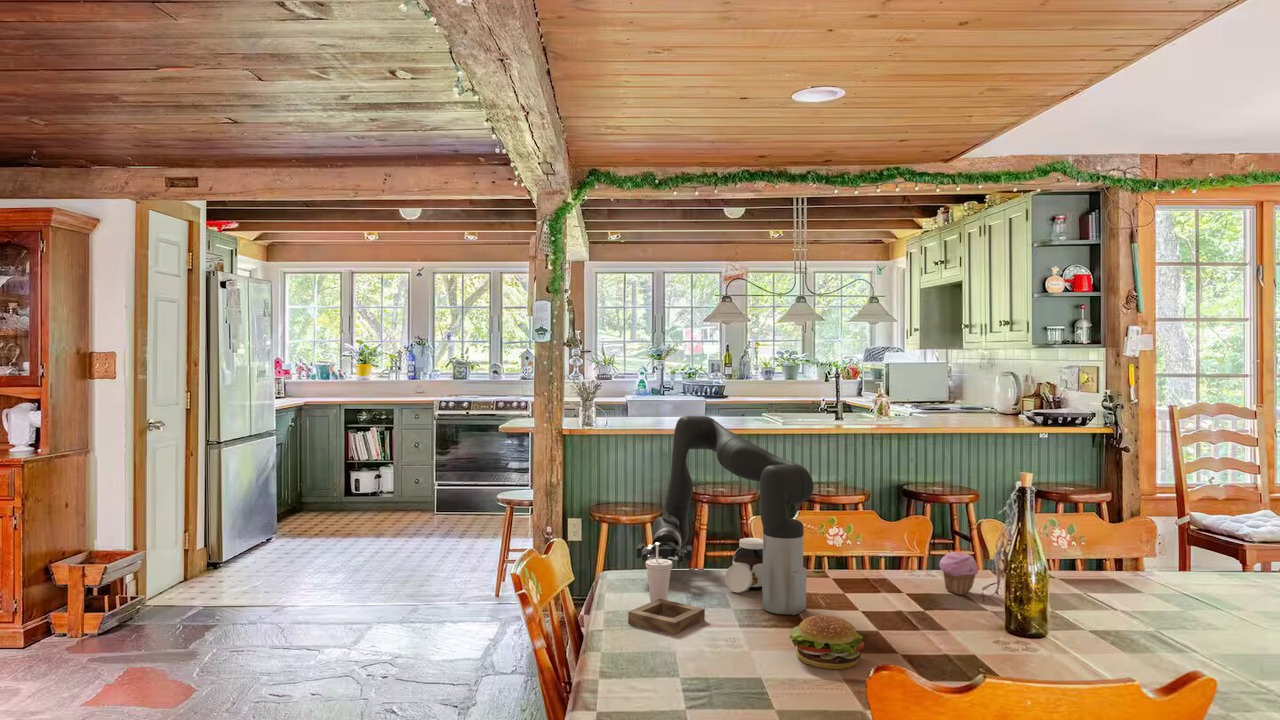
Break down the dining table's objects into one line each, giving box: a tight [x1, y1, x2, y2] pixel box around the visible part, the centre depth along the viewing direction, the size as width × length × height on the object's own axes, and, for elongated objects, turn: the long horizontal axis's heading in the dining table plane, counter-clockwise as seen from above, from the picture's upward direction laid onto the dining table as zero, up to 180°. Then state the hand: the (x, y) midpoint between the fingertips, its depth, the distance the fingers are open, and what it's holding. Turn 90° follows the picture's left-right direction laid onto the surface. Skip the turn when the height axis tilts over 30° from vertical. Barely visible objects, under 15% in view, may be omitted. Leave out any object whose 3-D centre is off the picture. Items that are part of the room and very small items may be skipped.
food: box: [789, 614, 865, 670], centre depth 155 cm, size 14×14×8 cm
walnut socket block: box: [627, 599, 706, 636], centre depth 175 cm, size 12×12×2 cm
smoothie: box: [645, 543, 674, 602], centre depth 189 cm, size 6×6×14 cm
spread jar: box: [724, 537, 763, 594], centre depth 202 cm, size 12×11×12 cm
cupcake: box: [939, 551, 979, 596], centre depth 201 cm, size 9×9×10 cm
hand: (662, 558), depth 199 cm, fingers open, 8 cm apart
